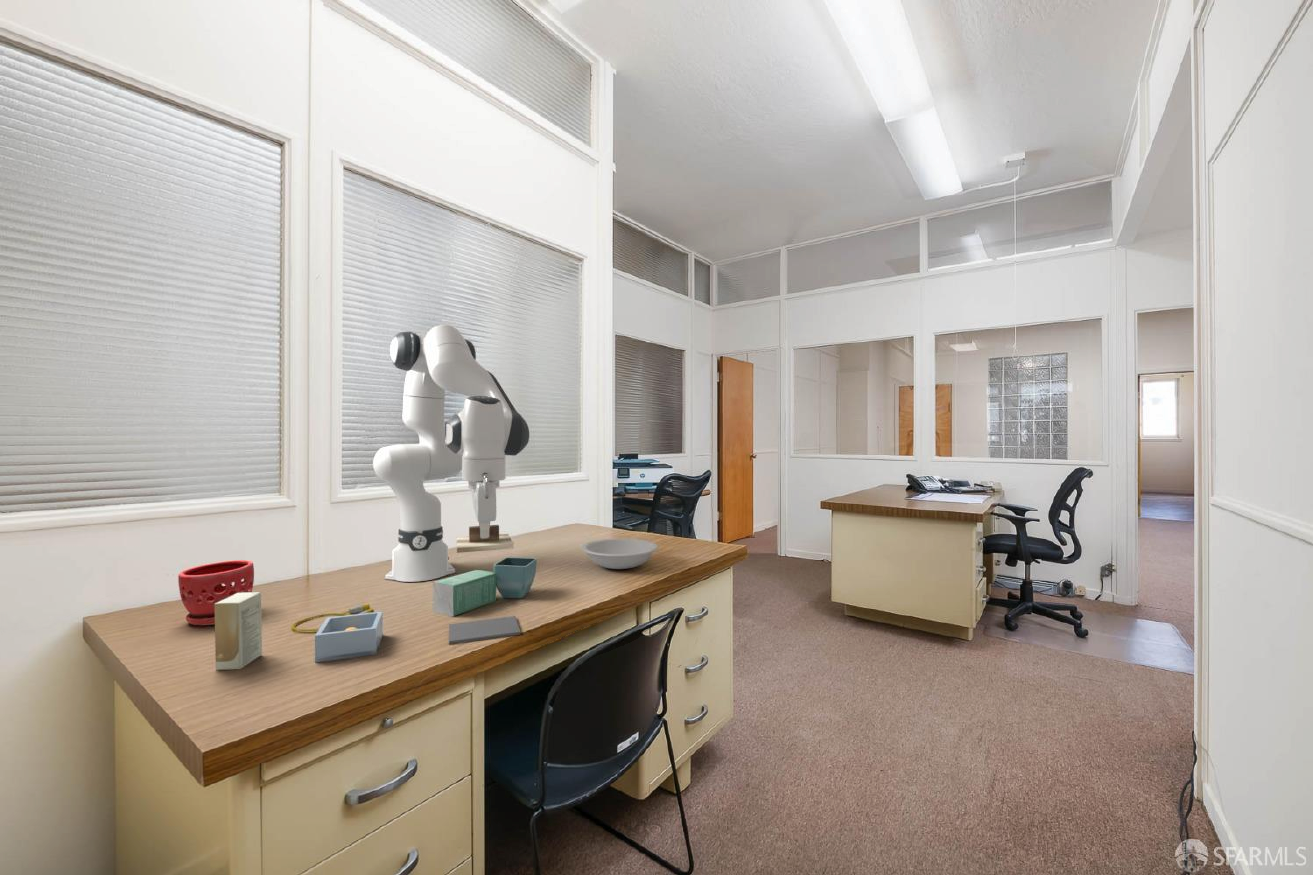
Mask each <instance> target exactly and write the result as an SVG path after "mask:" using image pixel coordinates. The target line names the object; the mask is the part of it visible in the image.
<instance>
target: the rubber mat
mask: <svg viewBox="0 0 1313 875" xmlns="http://www.w3.org/2000/svg"><path fill="white" fill-rule="evenodd" d="M448 626H449V627H448V628H449V630H448V634H449V635H448V644H449V645H453V644H454V645H455V644H461V643H469V642H475V641H484V640H490V639H497V638H504V637H505V638H506V637H513V636H518V635H519V636H521V634H522V632H521V629H520V626H519V623H518V620H517V618H516V616H515V615H511V616H505V617H497V618H495V617H494V618H488V619H479V620H472V621H464V622H456V623H455V622H454V623H449V624H448Z"/></svg>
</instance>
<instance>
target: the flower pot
mask: <svg viewBox="0 0 1313 875" xmlns="http://www.w3.org/2000/svg"><path fill="white" fill-rule="evenodd" d="M537 562H538V558H534V557H514V556H513V557H510V556H509V557H508V556H506V557H504V558H503V559H501V560H500V561H497V562H496V563H494V564H493V573H495V574H496V585H497V588H496V590H497V591H498V593H499V594H500V595H501V597H502V598H503V599H506V598H507V599H522V598H523V597H525V596H526V595H527V594H528V593H529V591H530V590H531V588H532V586H533V584H534V580H535V577H536V569H537Z"/></svg>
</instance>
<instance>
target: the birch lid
mask: <svg viewBox="0 0 1313 875" xmlns="http://www.w3.org/2000/svg"><path fill="white" fill-rule="evenodd" d="M455 541H456V553H458V554H459V553H472V552H484V551H498V550H499V551H500V550H509V549H510V550H511V549H514V541H513V540H512V538H511V536H510V535H509V533H503V534H500V525H499V524H490V529H489V538H484V539H482V538H481V537H480V526H479V525H475V526H474V525H473V526H468V536H459V537H458V536H457V537H456V540H455Z"/></svg>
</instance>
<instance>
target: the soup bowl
mask: <svg viewBox="0 0 1313 875" xmlns="http://www.w3.org/2000/svg"><path fill="white" fill-rule="evenodd" d="M658 547H659V545H658V544H656V543H655V542H653V541H650V540H645V539H640V538H625V537H623V538H621V537H620V538H618V537H617V538H604V539H597V540H593V541H589V542H586V543H584V544H583V545H581V550H582V551H583V552H584V553H586V554H587V556H588V557H589V559H590V560H592V562H593V563H594V564H596V565H598V566H599V567H601V568H606V569H611V570H624V569H625V570H626V569H627V570H628V569H631V568H632V569H633V568H636V567H639V566H641V565H643V564H644V563H646V562H647V561H648V560H649V559H650V558H651V556H652V555H653V553H654V552H655V551H657V550H658V549H659V548H658Z"/></svg>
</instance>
